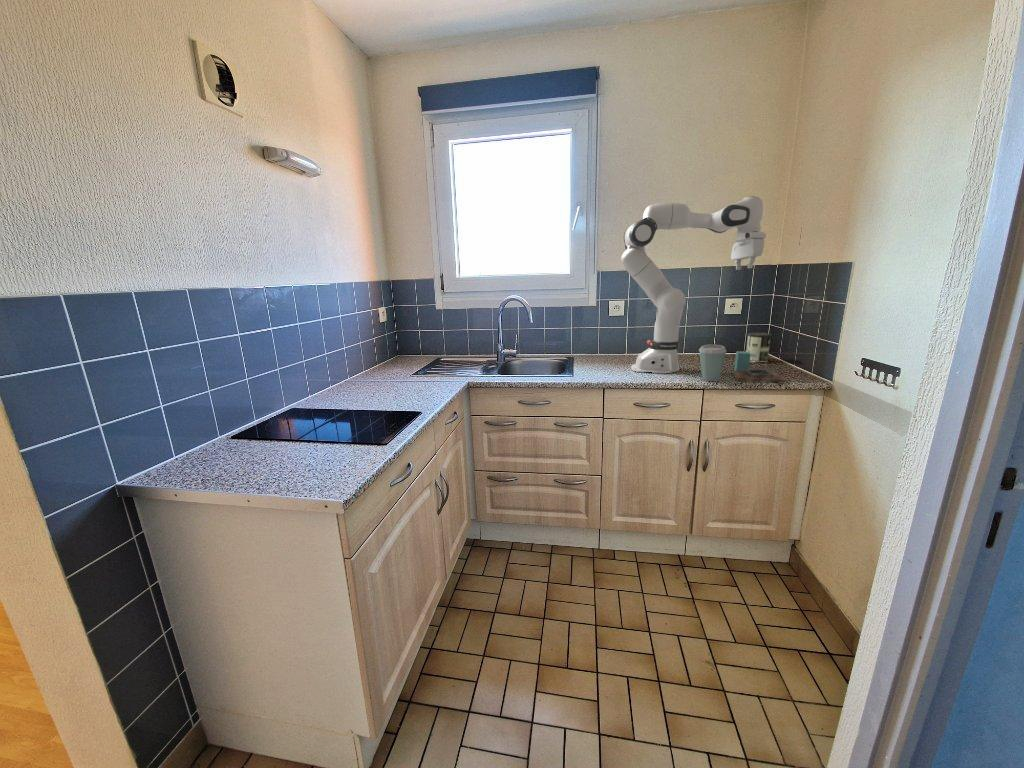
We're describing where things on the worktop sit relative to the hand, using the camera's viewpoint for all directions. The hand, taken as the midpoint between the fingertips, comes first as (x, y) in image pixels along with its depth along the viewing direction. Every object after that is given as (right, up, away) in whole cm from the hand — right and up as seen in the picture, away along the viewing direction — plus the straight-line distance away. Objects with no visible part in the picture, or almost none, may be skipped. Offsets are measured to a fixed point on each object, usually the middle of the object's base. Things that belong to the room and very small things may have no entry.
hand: (743, 269), depth 183 cm
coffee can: (+22, -40, +28) cm, 53 cm away
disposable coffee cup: (-18, -50, -5) cm, 53 cm away
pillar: (+3, -46, +8) cm, 47 cm away
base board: (+4, -49, -5) cm, 50 cm away
